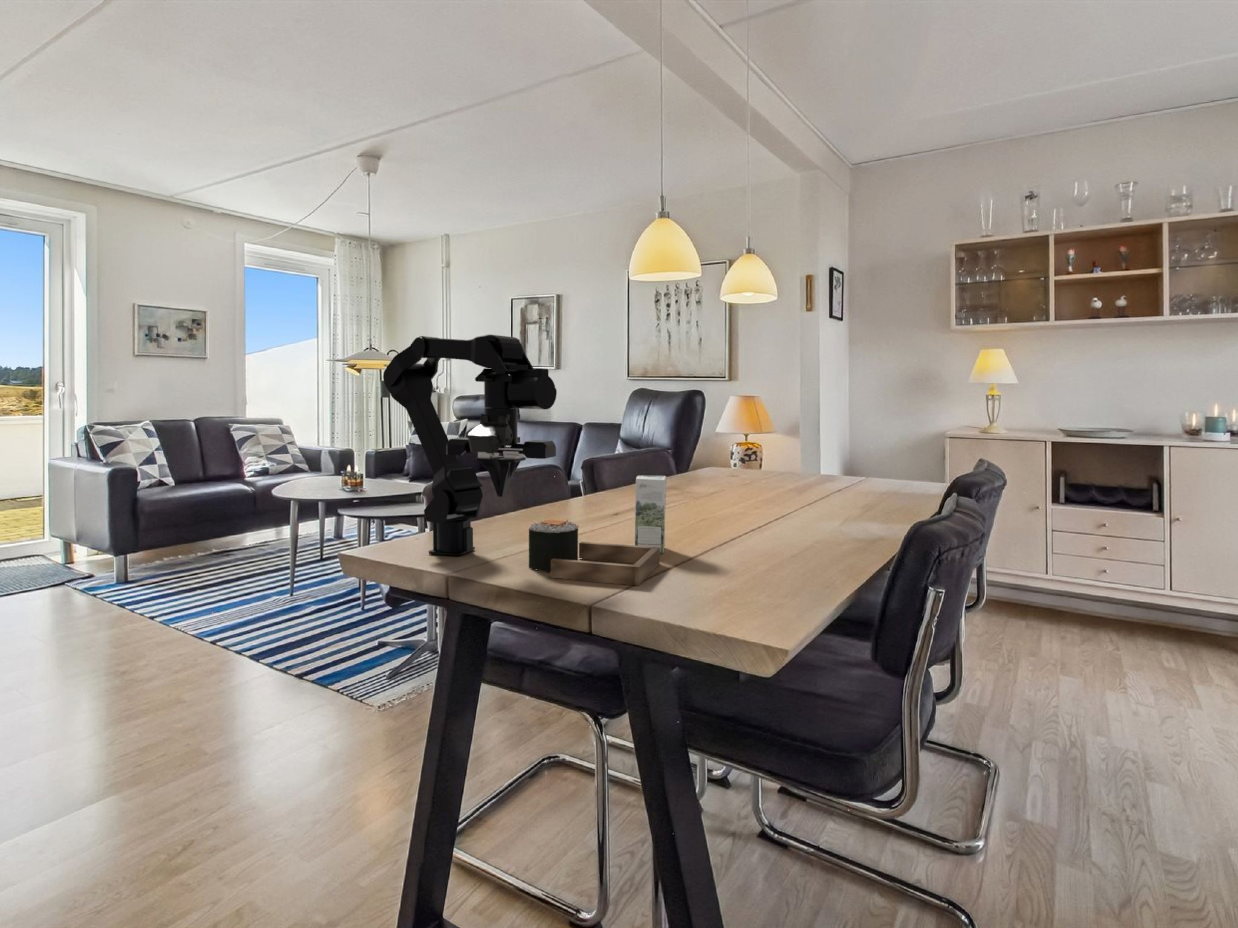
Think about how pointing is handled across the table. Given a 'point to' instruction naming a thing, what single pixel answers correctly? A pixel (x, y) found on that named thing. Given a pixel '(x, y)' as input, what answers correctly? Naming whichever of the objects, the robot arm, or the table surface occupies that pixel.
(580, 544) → the tray
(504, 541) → the table surface
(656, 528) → the syrup box
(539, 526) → the sushi
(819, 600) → the table surface
